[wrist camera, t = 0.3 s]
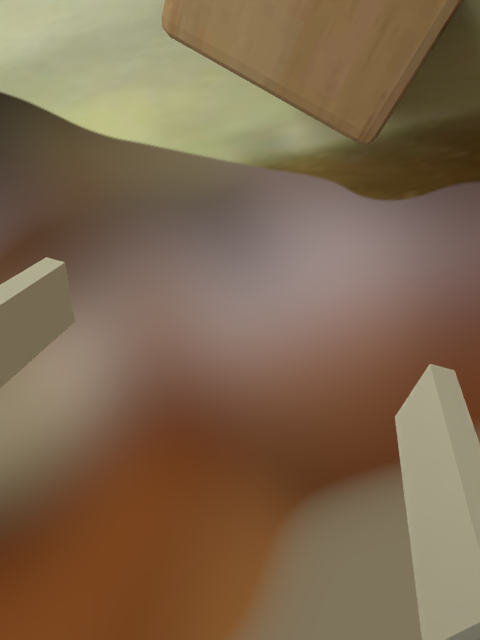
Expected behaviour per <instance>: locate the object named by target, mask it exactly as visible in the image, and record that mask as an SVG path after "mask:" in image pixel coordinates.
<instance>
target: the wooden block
mask: <svg viewBox="0 0 480 640" xmlns="http://www.w3.org/2000/svg"><path fill="white" fill-rule="evenodd" d="M462 1H463V0H165V4H164V9H163V14H162V27H163V29H164V30H165V31H166V32H167V34H168V35H169V36H170V37H171V38H173V39H175V40H176V41H178V42H180V43H182V44H183V45H185V46H187V47H189V48H190V49H192V50H194V51H196V52H198V53H199V54H201V55H203V56H205V57H206V58H208V59H210V60H212V61H214V62H215V63H217V64H219V65H221V66H222V67H224V68H226V69H228V70H229V71H231V72H233V73H235V74H237V75H238V76H240V77H242V78H244V79H245V80H247V81H249V82H251V83H252V84H254V85H256V86H258V87H260V88H261V89H263V90H265V91H267V92H268V93H270V94H272V95H274V96H276V97H277V98H279V99H281V100H283V101H284V102H286V103H288V104H290V105H291V106H293V107H295V108H297V109H299V110H300V111H302V112H304V113H306V114H307V115H309V116H311V117H313V118H314V119H316V120H318V121H320V122H322V123H323V124H325V125H327V126H329V127H330V128H332V129H334V130H336V131H337V132H339V133H341V134H343V135H345V136H346V137H348V138H350V139H352V140H353V141H355V142H357V143H359V144H369V143H370V142H372V141H373V140H374V139H375V138H377V136H378V134H379V133H380V131H381V130H382V128H383V127H384V125H385V123H386V122H387V120H388V119H389V117H390V115H391V114H392V112H393V111H394V109H395V107H396V106H397V104H398V103H399V101H400V99H401V98H402V96H403V95H404V93H405V92H406V90H407V88H408V87H409V85H410V84H411V82H412V80H413V79H414V77H415V76H416V74H417V72H418V71H419V69H420V68H421V66H422V64H423V63H424V61H425V60H426V58H427V57H428V55H429V53H430V52H431V50H432V49H433V47H434V45H435V44H436V42H437V41H438V39H439V37H440V36H441V34H442V33H443V31H444V29H445V28H446V26H447V25H448V23H449V22H450V20H451V18H452V17H453V15H454V14H455V12H456V10H457V9H458V7H459V6H460V4H461V2H462Z"/></svg>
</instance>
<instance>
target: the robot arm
mask: <svg viewBox="0 0 480 640" xmlns="http://www.w3.org/2000/svg"><path fill="white" fill-rule="evenodd" d="M74 322H75V319H74V313H73V308H72V301H71V295H70V290H69V284H68V278H67V272H66V266H65V262H61V261H57V260H54V259H50V258H45V259H43V260H41V261H40V262H38V263H36V264H35V265H33V266H31V267H30V268H28V269H26V270H25V271H23V272H21V273H20V274H18V275H16V276H14V277H13V278H11V279H9V280H8V281H6V282H5V283H3V284H1V285H0V388H1V387H2V386H3V385H4V384H5V383H7V381H9V380H10V379H11V378H12V377H13V376H14V375H16V374H17V373H18V372H19V371H20V370H21V369H22V368H23V367H25V366H26V365H27V364H28V363H29V362H30V361H31V360H32V359H34V358H35V357H36V356H37V355H38V354H39V353H40V352H41V351H43V350H44V349H45V348H46V347H47V346H48V345H49V344H50V343H51V342H53V341H54V340H55V339H56V338H57V337H58V336H59V335H60V334H61V333H63V332H64V331H65V330H66V329H67V328H68V327H69V326H71V325H72V324H73V323H74ZM395 421H396V429H397V438H398V445H399V454H400V462H401V470H402V479H403V487H404V495H405V503H406V511H407V520H408V528H409V536H410V544H411V552H412V560H413V569H414V577H415V584H416V593H417V601H418V610H419V617H420V626H421V634H422V640H480V444H479V441H478V438H477V436H476V433H475V429H474V427H473V424H472V421H471V418H470V415H469V412H468V409H467V406H466V403H465V400H464V397H463V394H462V391H461V388H460V386H459V383H458V380H457V377H456V374H455V371H454V370H451V369H447V368H443V367H440V366H436V365H432V364H429V366H428V368H427V369H426V371H425V372H424V374H423V375H422V377H421V378H420V380H419V381H418V383H417V385H416V386H415V388H414V389H413V390H412V392H411V394H410V395H409V397H408V398H407V400H406V401H405V403H404V404H403V406H402V407H401V409H400V410H399V412H398V413H397V415H396V416H395Z"/></svg>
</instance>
